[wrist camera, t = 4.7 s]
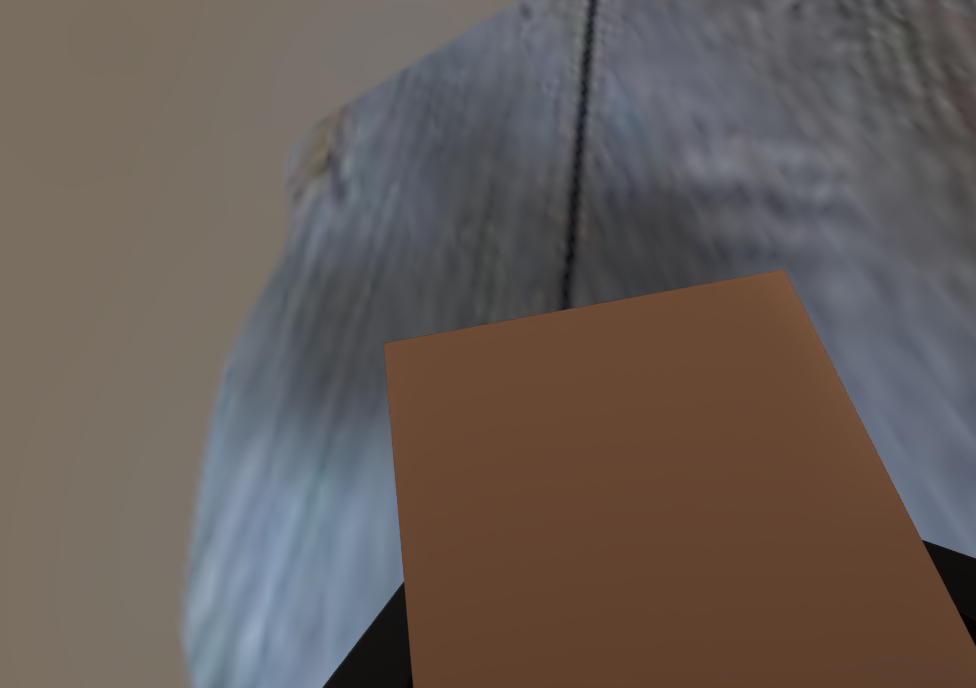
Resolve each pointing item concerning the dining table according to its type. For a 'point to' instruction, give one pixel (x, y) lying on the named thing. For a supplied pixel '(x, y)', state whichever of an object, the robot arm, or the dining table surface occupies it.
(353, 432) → the dining table surface
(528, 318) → the brown rectangular block
